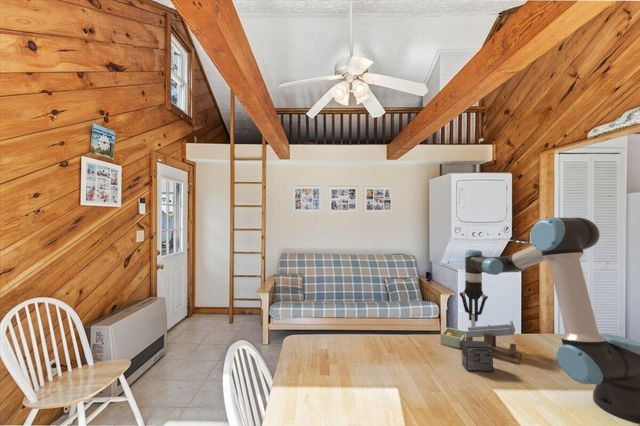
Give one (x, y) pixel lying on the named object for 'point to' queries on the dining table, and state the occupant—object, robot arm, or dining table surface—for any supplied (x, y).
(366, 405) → the dining table surface
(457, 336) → the dish
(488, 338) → the stand
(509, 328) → the lever
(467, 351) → the small box
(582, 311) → the robot arm
